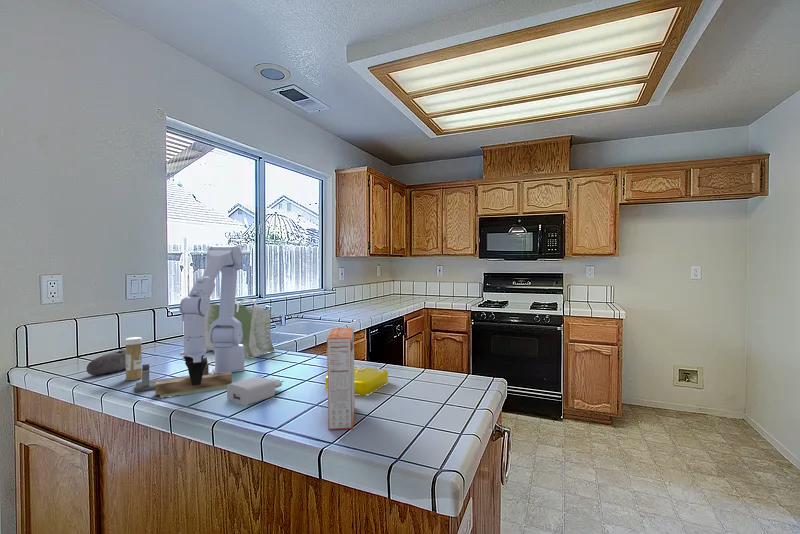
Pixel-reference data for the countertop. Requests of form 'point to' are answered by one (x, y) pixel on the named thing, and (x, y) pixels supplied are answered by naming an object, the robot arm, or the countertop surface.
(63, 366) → the countertop surface
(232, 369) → the robot arm
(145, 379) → the rail rack
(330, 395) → the cracker box
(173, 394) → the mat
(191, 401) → the countertop surface
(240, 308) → the grocery bag
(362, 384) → the element tile
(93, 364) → the perforated stone tool
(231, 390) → the charger
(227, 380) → the rail
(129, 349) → the sprinkles bottle
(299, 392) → the countertop surface
